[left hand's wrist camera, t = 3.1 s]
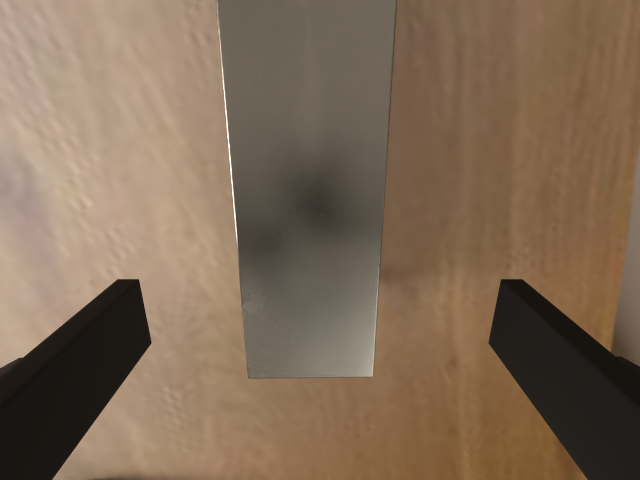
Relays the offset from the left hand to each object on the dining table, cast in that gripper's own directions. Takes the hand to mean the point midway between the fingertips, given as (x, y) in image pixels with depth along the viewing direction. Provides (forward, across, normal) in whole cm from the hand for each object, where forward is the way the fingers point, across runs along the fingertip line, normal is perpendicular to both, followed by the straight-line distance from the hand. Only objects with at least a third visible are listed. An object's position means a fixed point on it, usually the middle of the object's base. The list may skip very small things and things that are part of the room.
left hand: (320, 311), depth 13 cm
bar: (+9, 0, -9) cm, 13 cm away
